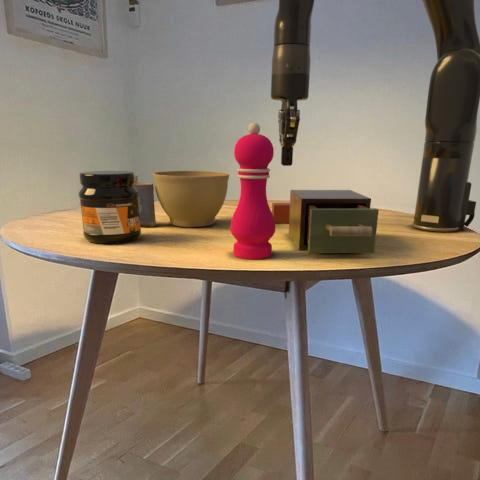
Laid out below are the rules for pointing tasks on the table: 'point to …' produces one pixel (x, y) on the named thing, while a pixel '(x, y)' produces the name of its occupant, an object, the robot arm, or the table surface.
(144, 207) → the flask
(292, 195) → the cabinet
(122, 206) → the supplement container
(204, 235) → the table surface
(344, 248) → the drawer
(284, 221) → the block
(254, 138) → the pepper mill
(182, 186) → the planter bowl
